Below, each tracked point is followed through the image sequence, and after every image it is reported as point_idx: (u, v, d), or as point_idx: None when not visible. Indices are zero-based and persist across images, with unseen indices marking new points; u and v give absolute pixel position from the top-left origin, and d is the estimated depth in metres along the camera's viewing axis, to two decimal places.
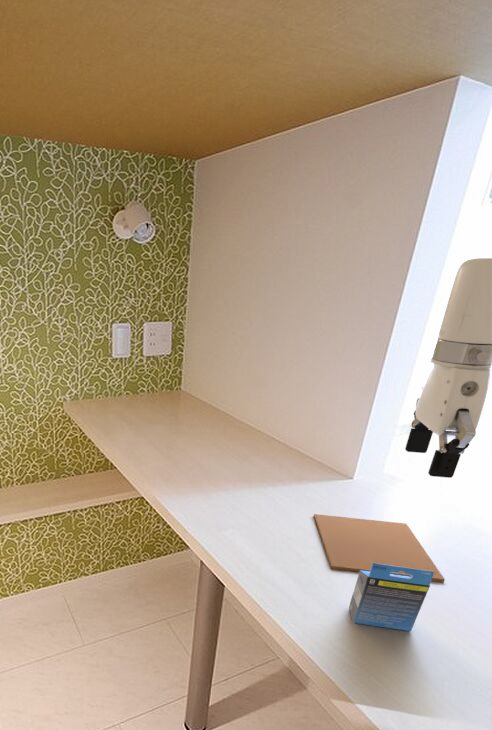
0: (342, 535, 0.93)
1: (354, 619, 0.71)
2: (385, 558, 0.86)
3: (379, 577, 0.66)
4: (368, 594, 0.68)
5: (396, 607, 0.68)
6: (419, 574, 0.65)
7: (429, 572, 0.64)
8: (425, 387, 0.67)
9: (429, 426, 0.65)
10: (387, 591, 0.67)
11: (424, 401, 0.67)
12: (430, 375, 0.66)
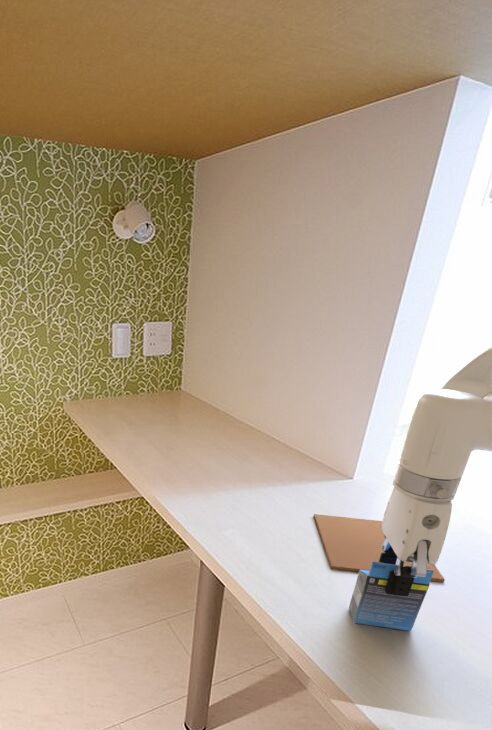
0: (342, 535, 0.93)
1: (354, 619, 0.71)
2: None
3: (379, 576, 0.66)
4: (368, 593, 0.68)
5: (396, 606, 0.68)
6: None
7: (429, 571, 0.64)
8: (390, 504, 0.66)
9: (393, 547, 0.64)
10: None
11: (389, 519, 0.65)
12: (394, 494, 0.64)
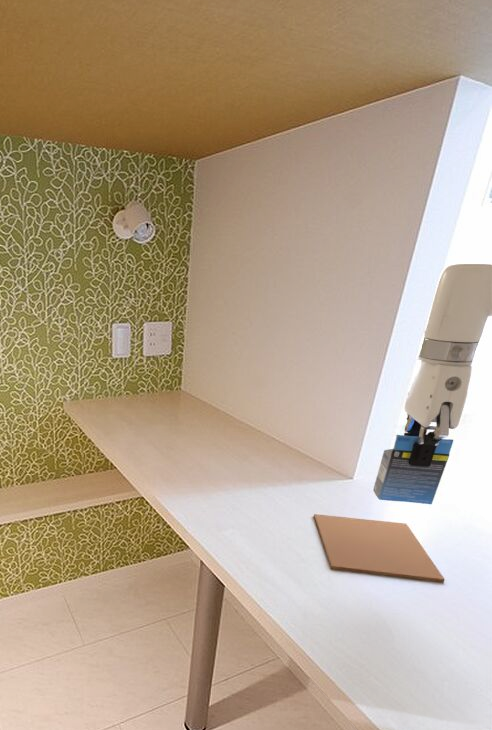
0: (342, 535, 0.93)
1: (379, 495, 0.77)
2: (385, 558, 0.86)
3: (403, 449, 0.73)
4: (393, 468, 0.74)
5: (419, 479, 0.74)
6: (439, 443, 0.71)
7: (449, 440, 0.71)
8: (413, 383, 0.72)
9: (417, 419, 0.70)
10: None
11: (412, 396, 0.72)
12: (417, 371, 0.71)
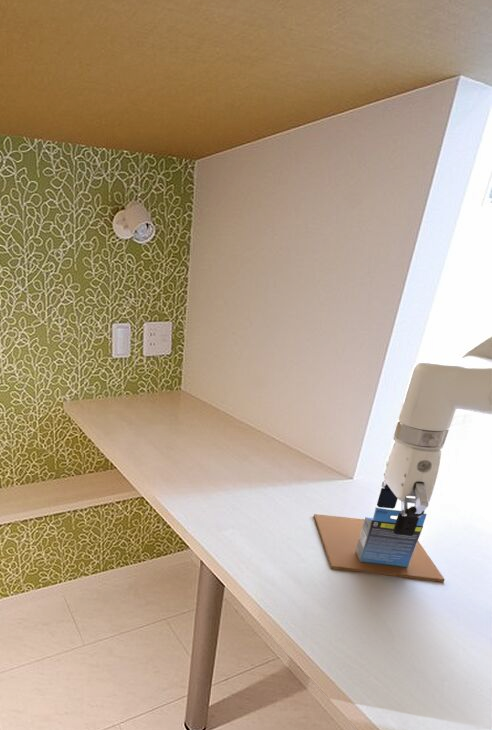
0: (342, 535, 0.93)
1: (360, 558, 0.85)
2: None
3: (381, 520, 0.80)
4: (372, 535, 0.82)
5: (396, 546, 0.82)
6: None
7: (422, 514, 0.78)
8: (391, 457, 0.80)
9: (394, 491, 0.78)
10: (388, 532, 0.81)
11: (390, 469, 0.79)
12: (395, 448, 0.78)
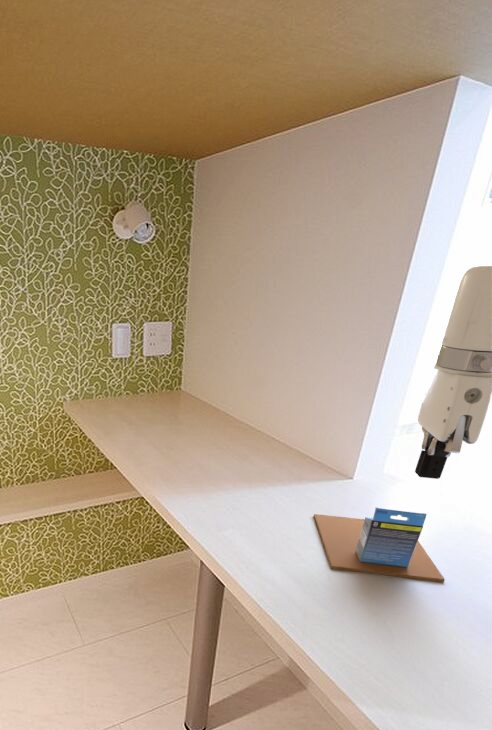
0: (342, 535, 0.93)
1: (360, 558, 0.85)
2: None
3: (381, 520, 0.80)
4: (372, 535, 0.82)
5: (396, 546, 0.82)
6: (414, 516, 0.79)
7: (422, 514, 0.78)
8: (428, 393, 0.67)
9: (432, 432, 0.66)
10: (388, 532, 0.81)
11: (427, 407, 0.67)
12: (433, 381, 0.66)
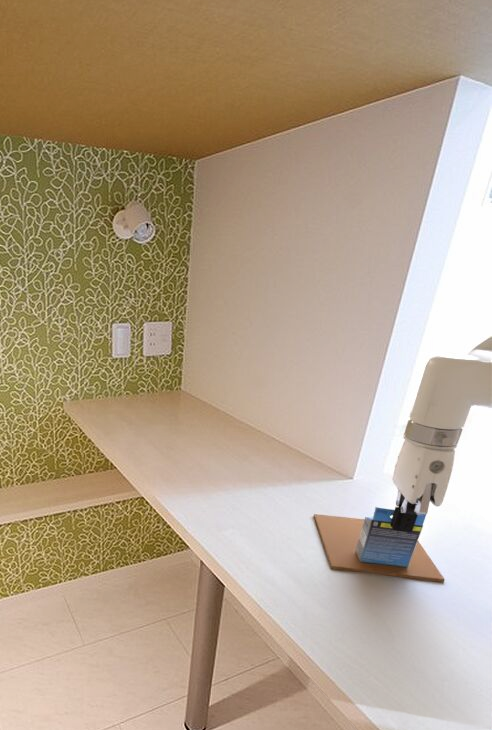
0: (342, 535, 0.93)
1: (360, 558, 0.85)
2: None
3: (381, 520, 0.80)
4: (372, 535, 0.82)
5: (396, 546, 0.82)
6: None
7: (422, 514, 0.78)
8: (400, 457, 0.75)
9: (403, 493, 0.74)
10: (388, 531, 0.81)
11: (399, 470, 0.75)
12: (404, 448, 0.74)
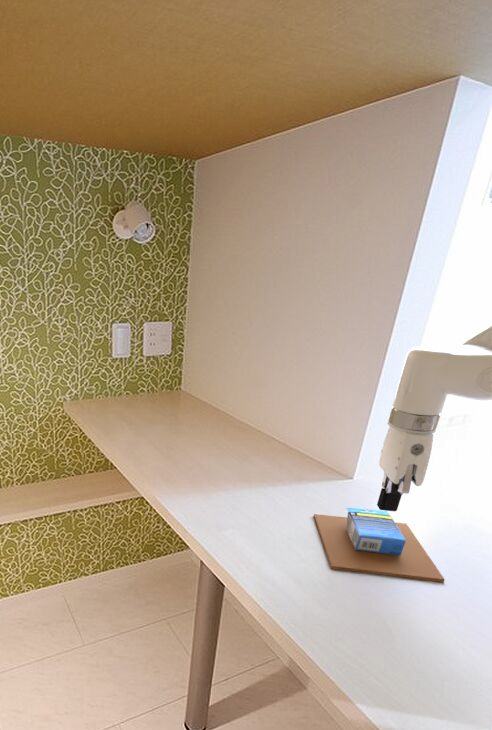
0: (342, 535, 0.93)
1: (358, 533, 0.87)
2: (385, 558, 0.86)
3: (355, 511, 0.95)
4: (356, 519, 0.92)
5: (381, 525, 0.90)
6: (378, 511, 0.96)
7: (384, 511, 0.96)
8: (385, 442, 0.83)
9: (388, 475, 0.81)
10: (367, 517, 0.93)
11: (385, 454, 0.82)
12: (389, 433, 0.81)
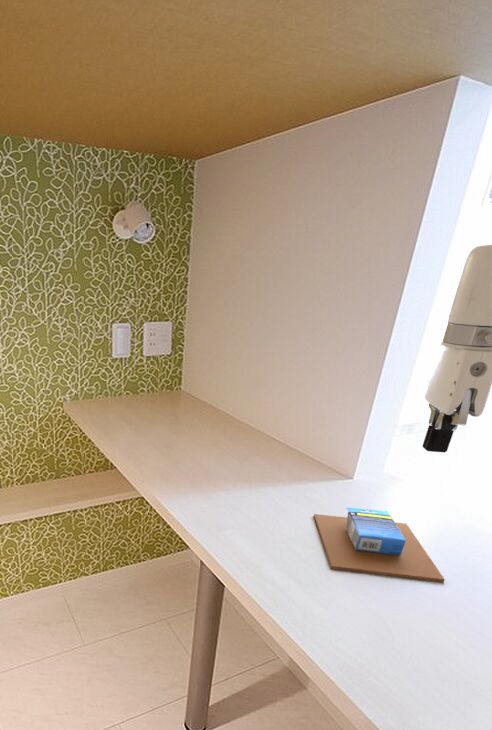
0: (342, 535, 0.93)
1: (358, 533, 0.87)
2: (385, 558, 0.86)
3: (355, 511, 0.95)
4: (356, 519, 0.92)
5: (381, 525, 0.90)
6: (378, 511, 0.96)
7: (384, 511, 0.96)
8: (435, 370, 0.70)
9: (439, 407, 0.68)
10: (367, 517, 0.93)
11: (434, 383, 0.70)
12: (440, 358, 0.69)
